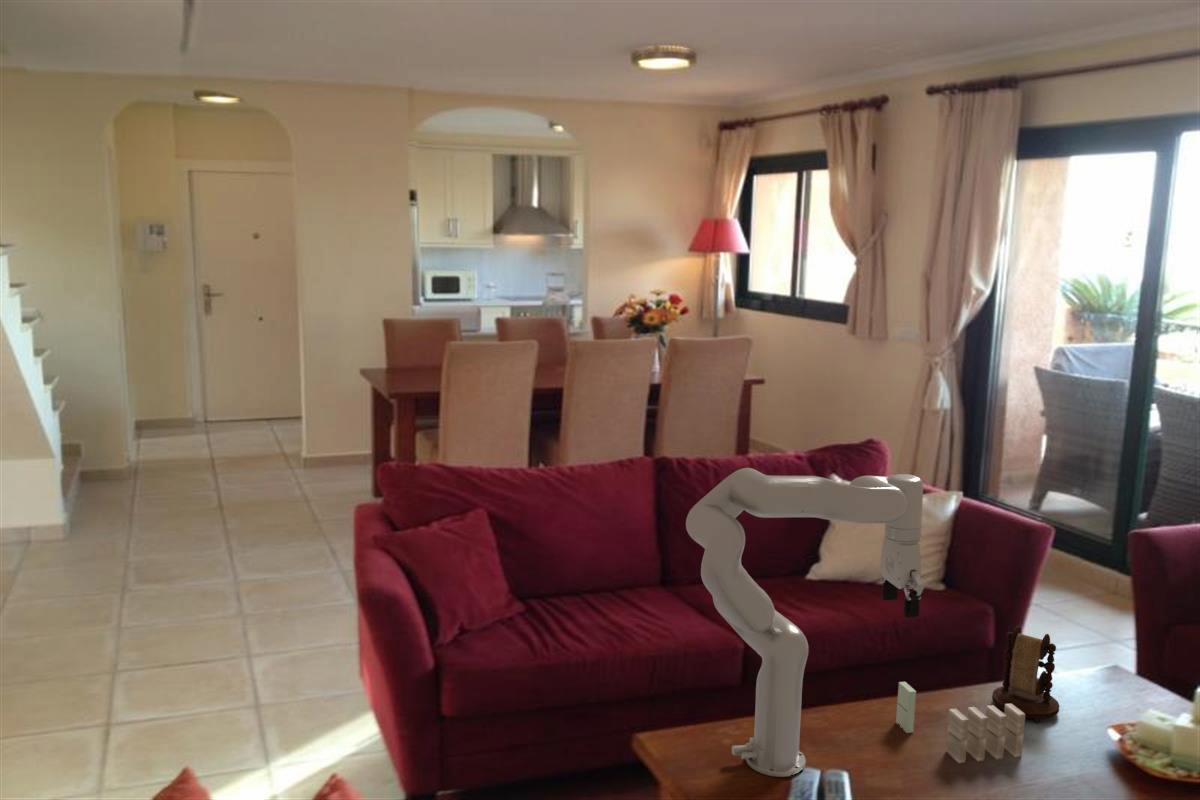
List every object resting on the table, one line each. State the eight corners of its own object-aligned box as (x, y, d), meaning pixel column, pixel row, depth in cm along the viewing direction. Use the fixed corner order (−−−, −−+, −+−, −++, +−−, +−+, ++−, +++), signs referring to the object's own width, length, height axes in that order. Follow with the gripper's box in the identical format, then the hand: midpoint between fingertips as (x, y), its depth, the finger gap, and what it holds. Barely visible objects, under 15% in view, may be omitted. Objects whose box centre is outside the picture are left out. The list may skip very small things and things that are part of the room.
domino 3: (977, 761, 213) (981, 718, 212) (964, 749, 218) (968, 707, 217) (984, 760, 214) (988, 717, 212) (971, 749, 219) (974, 706, 217)
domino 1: (906, 733, 225) (909, 691, 223) (895, 722, 230) (898, 682, 228) (913, 732, 225) (916, 691, 224) (902, 721, 230) (905, 681, 229)
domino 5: (1014, 757, 215) (1018, 714, 214) (1001, 746, 220) (1004, 704, 218) (1021, 756, 216) (1025, 714, 214) (1007, 745, 220) (1011, 703, 219)
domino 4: (996, 759, 214) (1000, 716, 213) (982, 747, 219) (986, 705, 217) (1003, 758, 215) (1006, 715, 213) (989, 747, 219) (993, 705, 218)
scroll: (981, 709, 237) (988, 630, 233) (1005, 689, 248) (1012, 613, 244) (1045, 731, 227) (1053, 648, 224) (1067, 709, 238) (1075, 630, 234)
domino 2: (958, 763, 213) (962, 720, 211) (946, 751, 217) (949, 709, 216) (965, 762, 213) (969, 719, 211) (952, 750, 218) (956, 708, 216)
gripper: (868, 521, 220) (866, 594, 223) (906, 546, 203) (903, 625, 206) (900, 519, 221) (897, 591, 224) (939, 543, 204) (936, 621, 207)
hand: (900, 607), depth 215 cm, fingers open, 9 cm apart
